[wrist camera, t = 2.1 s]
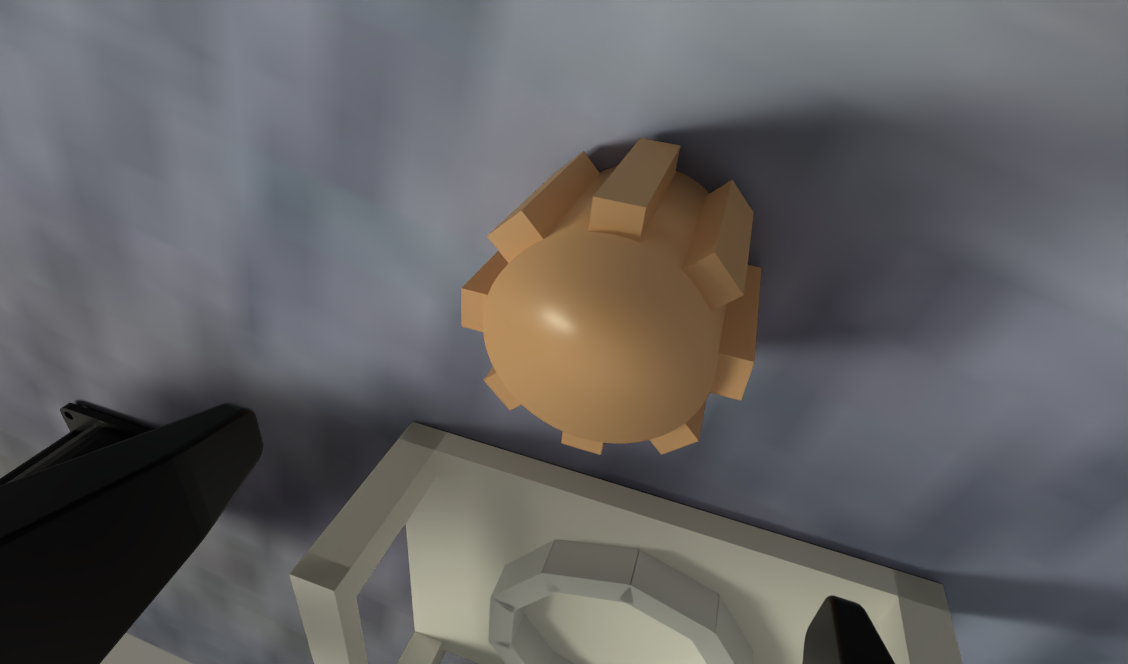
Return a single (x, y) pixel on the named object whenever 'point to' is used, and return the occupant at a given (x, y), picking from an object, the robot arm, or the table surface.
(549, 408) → the gear hub
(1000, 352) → the table surface
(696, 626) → the housing
